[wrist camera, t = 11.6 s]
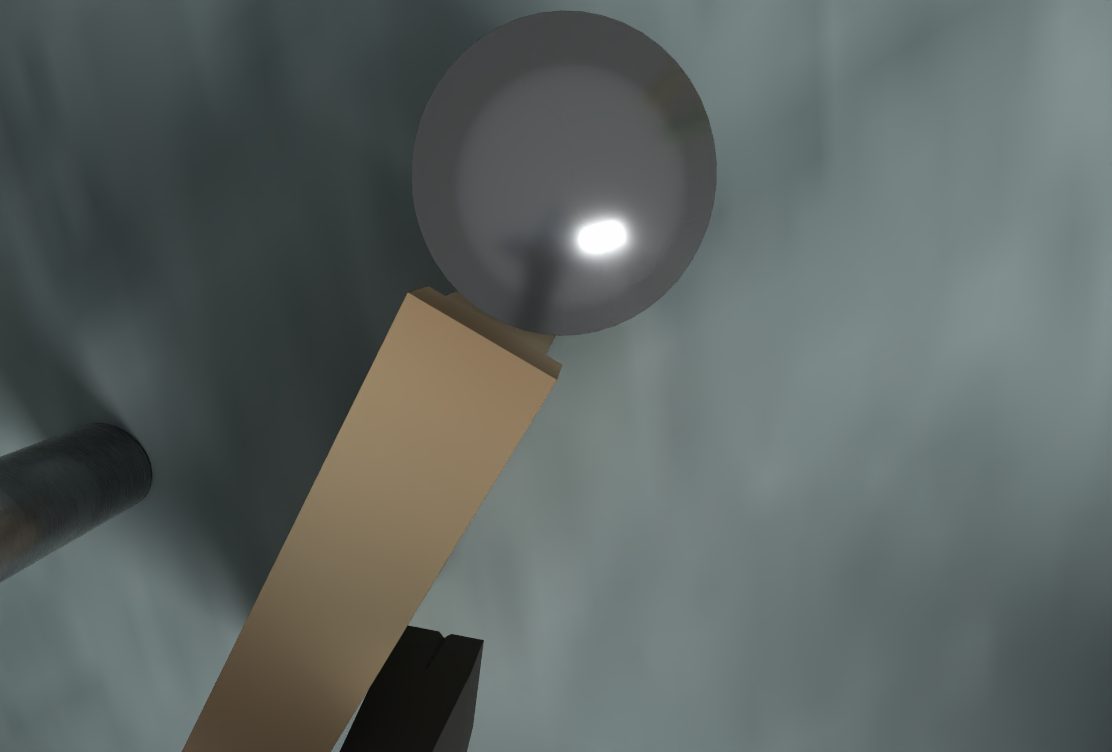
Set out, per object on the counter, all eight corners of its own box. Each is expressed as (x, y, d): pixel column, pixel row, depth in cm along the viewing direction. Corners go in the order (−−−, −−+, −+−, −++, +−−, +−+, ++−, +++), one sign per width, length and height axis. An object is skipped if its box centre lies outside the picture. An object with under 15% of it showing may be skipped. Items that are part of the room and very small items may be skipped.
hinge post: (572, 305, 10) (534, 389, 5) (492, 197, 10) (350, 157, 4) (682, 223, 9) (778, 214, 4) (600, 105, 9) (591, -70, 4)
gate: (503, 262, 10) (407, 292, 5) (581, 309, 10) (557, 380, 5) (280, 678, 13) (89, 939, 8) (340, 711, 13) (187, 986, 8)
